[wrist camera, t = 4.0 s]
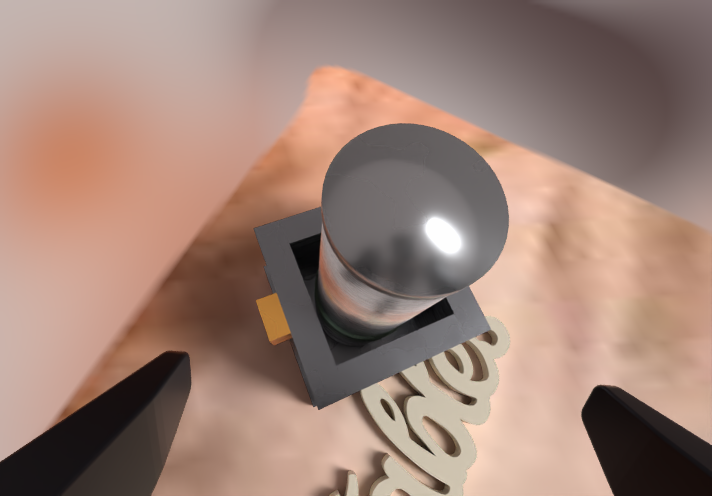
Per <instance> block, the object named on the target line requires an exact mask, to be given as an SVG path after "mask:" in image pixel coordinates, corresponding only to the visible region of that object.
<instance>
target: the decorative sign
mask: <svg viewBox="0 0 712 496" xmlns="http://www.w3.org/2000/svg"><path fill="white" fill-rule="evenodd" d="M485 318H486V320H487V322H488V324H489V326H490V328H491V330H489V331H487V332H488V333H489V334H490V335H491V338H492V343H491V345H490V344H488V343H487V342H485V341H479V340H478V339H477V338H476V337H474V338H472V339H470V340H468V341H466V342H465V343H466V344H468V345H469V346H470V347H471V348H472V349H473V350H474V352H475V353H476V355H477V357H478V359H479V361H480V364H481V366H482V370H483V378H482V379H481V380H480V381H471V380H470V379H471V377H472V374H473V365H472V362H471V359H470V357H469V355H468V353H467V352H466V350H465V348H464V347H463V346H462V344H459V345H457V346H455V347H453V348H450V349H448V350H447V351H448V352H450V353H451V354H452V355H453V356H454V358H455V359H456V361H457V364H458V367H459V372H458V371H457V370H456V369H455V368H454V367H453V366H452V365H451V364H450V363H449V362H448V360H447V359H446V357H445V354H444V352H442V353H440V354H438V355H435V356H433V357H431V358H429V359H428V360H429V362H430V365H431V367H432V368H433V370H434V372H435V373H436V375H437V376H438V377H439V378H440V379H441V381H442V382H443V383H445V384H446V385H447V386H448V387H449V388H451V389H452V390H454V391H456V392H458V393H460V394H462V395H465V396H468V397H471V398H472V400H471V403H470V404H468V405H466V404H463V403H461V402H459V401H457V400H455V399H454V398H452V397H450V396H449V395H447V394H446V393H445V392H443V391H442V390H440V389H439V388H438V387H436V386H435V385H434V384H432V383H431V382H430V379H429V375H428V372H427V369H426V366H425V364H424V362H420V363H418V364H416V365H414V366H412V367H410V368H408V369H405V370H403V371H401V372H399V373H400V374H401V376H402V377H403V378H404V379H405V380H406V381H407V382H408V383H409V385H410V386H411V387H412V388H414V389H415V390H416V391H417V392H418V393H419V394H420V395H421V396H408V397H407V398H406V399H405V401H404V405H403V410H404V416H405V419H406V421H407V423H408V425H409V427H410V428H411V429H412V431H413V432H414V433H415V434H416V436H417V437H418V438H419V439H420V440H421V441H422V443H423V444H424V445H425V446H426V447H427V449H428V450H429V451H430V452H431V453H430V452H428V451H426V450H425V449H423V448H422V447H420V446H419V445H418V444H416V443H415V442H414V441H412V440H411V439H410V438H409V433H408V429H407V425H406V422H405V420H404V417H403V415H402V413H401V411H400V409H399V408H398V406H397V405H396V403H395V402H394V400H393V399H392V398H391V396H390V395H389V394H388V393H387V392H386V391H385V390H384V389H383V388H382V387H381V386H380V385H379V384H378V383H375V384H373V385H371V386H369V387H367V388H365V389H363V390H360V395H361V398H362V400H363V402H364V404H365V406H366V408H367V410H368V412H369V413H370V415H371V417H372V418H373V420H374V421H375V423H376V424H377V425H378V427H379V428H380V429H381V431H382V432H383V433H384V434H385V435H386V436H387V438H388V439H389V440H390V441H391V442H392V443H393V444H394V445H395V446H396V447H397V448H398V449H399V450H400V451H401V452H402V453H403V454H405V455H406V456H407V457H408V458H409V459H410V460H412V461H413V462H414V463H415V464H417V465H418V466H419V467H420V468H422V469H423V470H424V471H426V472H427V473H429V474H430V475H432V476H433V477H435V478H436V479H438V480H440V481H441V482H443V483H445V487H444V489H443V490H441V491H439V490H436V489H433V488H431V487H429V486H427V485H425V484H423V483H422V482H420V481H419V480H417V479H416V478H414V477H413V476H412V475H411V474H410V473H408V472H407V471H406V470H405V469H404V468H403V467H402V466H401V465H400V464H399V463H398V462H396V461H395V460H394V459H393V458H392V457H391V456H390V455H389V454H388V453H387V454H386V455H385V456H384V457H383V459H382V462H381V465H382V468H383V470H384V472H385V473H386V474H387V475H384V476H382V477H380V478H378V479H377V480H376V481H375V482H374V483H373V485H372V486H371V489H370V492H369V496H390V495H391V493H392V492H393V491H394V490H395V489H402V490H404V491H405V492H407V493H408V494H409V495H410V496H463V484H464V483H465V481H466V478H467V472H466V470H467V469H468V468H470V467H471V466H472V465H473V463H474V462H475V460H476V457H477V450H476V446H475V443H474V441H473V439H472V437H471V435H470V434H469V432H468V430H467V429H466V427H465V426H464V424H463V423H462V422H461V421H463V422H466V423H470V424H473V425H481V424H483V423H485V422H486V421H487V419H488V417H489V414H490V401H489V400H490V396H491V395H493V393H494V392H495V391H496V389H497V386H498V383H499V372H498V368H497V365H496V363H495V361H494V359H496V358H500V357H502V356H503V355H505V353H506V352H507V351H508V348H509V345H510V336H509V333H508V330H507V329H506V327H505V326H504V324H503V323H502V322H501V321H499V320H498V319H497V318H495V317H491V316H486V317H485ZM381 398H382V399H383V400H384V401H386V403H387V404H388V406H389V407H390V410H391V413H392V419H391V418H390V417H389V416H388V414H387V413H386V412H385V410H384V409H383V407H382V405H381V402H380V400H381ZM423 416H426V417H428V418H430V419H431V420H433V421H434V422H435V423H437V424H438V425H439V426H441V427H442V428H443V429H444V430H445V431H446V432H447V433H448V434H449V435H450V436H451V438H452V439H453V441H454V443H455V447H456V451H455V452H454V453H453V454H450V455H449V454H446V453H445V452H444V451H443V450H442V449H441V448H440V447H439V446H438V444H437V443H436V442H435V441H434V440H433V438H432V437H431V436H430V435H429V433H428V432H427V431H426V429H425V428H424V425H423V422H422V419H423ZM329 496H340V494H339V492H338V490H336V491H334V492H332V493H331V494H330V495H329ZM344 496H358V482H357V476H356V474H355V472H354V471H348V473H347V485H346V491H345V495H344Z"/></svg>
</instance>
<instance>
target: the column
mask: <svg viewBox="0 0 712 496" xmlns="http://www.w3.org/2000/svg"><path fill="white" fill-rule="evenodd" d="M321 215H322V231H321V243H320V256H319V269H318V271H317V275H316V279H315V291H314V296H315V304H316V314H317V317H318V320H319V322H320V325H321V327H322V328H323V330H324V331H325V332H326V333H327V334H328V335H329V336H330V337H331V338H332V339H334V340H335V341H337V342H339V343H342V344H345V345H349V346H361V345H366V344H369V343H371V342H373V341H377V340H380V339H382V338H384V337H386V336H388V335H389V334H391V333H393V332H394V331H396V330H397V329H399V328H400V327H401V326H402V325H403V324H404V323H405V322H406V321H408V320H409V319H411V318H413V317H414V316H416V315H417V314H419V313H421V312H422V311H424V310H426V309H427V308H429V307H430V306H432V305H434V304H435V303H437V302H439V301H440V300H442V299H443V298H445V297H447V296H449V295H452V294H454V293H456V292H458V291H460V290H462V289H464V288H466V287H468V286H469V285H471V284H473V283H474V282H475V281H477V280H478V279H480V278H481V277H482V276H484V275H485V274H486V273H487V272H488V271H489V270H490V269H491V268H492V266H493V265H494V263H495V262H496V261H497V259H498V258H499V256H500V254H501V252H502V250H503V248H504V245H505V242H506V239H507V233H508V226H509V214H508V206H507V201H506V197H505V194H504V191H503V189H502V186H501V184H500V182H499V180H498V178H497V176H496V175H495V173H494V172H493V170H492V169H491V167H490V166H489V165H488V163H487V162H486V161H485V160H484V159H483V158H482V157H481V156H480V155H479V154H478V153H477V152H476V151H475V150H474V149H473V148H471V147H470V146H469V145H467V144H466V143H465V142H463V141H461V140H460V139H458V138H456V137H455V136H453V135H451V134H449V133H446V132H444V131H441V130H439V129H436V128H433V127H428V126H424V125H418V124H402V123H400V124H389V125H385V126H380V127H377V128H374V129H371V130H368V131H366V132H364V133H362V134H360V135H358V136H357V137H355V138H354V139H352V140H351V141H350V142H348V143H347V144H346V145H345V146H344V147H343V148H342V149H341V150H340V151H339V152H338V154H337V155H336V156H335V158H334V159H333V161H332V163H331V164H330V166H329V168H328V171H327V173H326V176H325V180H324V184H323V190H322V202H321Z"/></svg>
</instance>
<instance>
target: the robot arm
mask: <svg viewBox="0 0 712 496" xmlns="http://www.w3.org/2000/svg"><path fill="white" fill-rule="evenodd" d="M190 389H191V369H190V357H189V354H188V353H187V352H182V351H166V352H164V353H162V354H161V355H159V356H158V357H156V358H155V359H153V360H152V361H150V362H149V363H147V364H146V365H144V366H143V367H141V368H140V369H138V370H137V371H135V372H134V373H132V374H131V375H129V376H128V377H126V378H125V379H123V380H122V381H120V382H119V383H117V384H116V385H114V386H113V387H111V388H110V389H108V390H107V391H106V392H104V393H103V394H101V395H100V396H98V397H97V398H95V399H94V400H92V401H91V402H89V403H88V404H86V405H85V406H83V407H82V408H80V409H79V410H77V411H76V412H74V413H73V414H71V415H70V416H68V417H67V418H65V419H64V420H62V421H61V422H59V423H58V424H56V425H55V426H53V427H52V428H50V429H49V430H47V431H46V432H44V433H43V434H41V435H40V436H38V437H37V438H35V439H34V440H32V441H31V442H29V443H28V444H26V445H25V446H23V447H22V448H20V449H19V450H17V451H16V452H14V453H13V454H11V455H10V456H8V457H7V458H5V459H4V460H2V461H1V462H0V496H151V494H152V492H153V490H154V488H155V486H156V484H157V481H158V479H159V477H160V475H161V472H162V470H163V467H164V465H165V462H166V459H167V457H168V454H169V451H170V448H171V445H172V442H173V439H174V436H175V434H176V431H177V428H178V425H179V422H180V419H181V416H182V414H183V411H184V408H185V405H186V402H187V399H188V396H189V393H190ZM581 417H582V421H583V424H584V426H585V428H586V431H587V433H588V436H589V438H590V440H591V443H592V445H593V448H594V450H595V452H596V455H597V457H598V460H599V462H600V464H601V467H602V469H603V472H604V474H605V476H606V479H607V481H608V483H609V486H610V488H611V490H612V492H613V494H614V496H712V445H710V444H709V443H707V442H706V441H704V440H702V439H701V438H699V437H698V436H696V435H694V434H693V433H691V432H690V431H688V430H686V429H685V428H683V427H682V426H680V425H678V424H677V423H675V422H674V421H672V420H670V419H669V418H667V417H666V416H664V415H662V414H661V413H659V412H658V411H656V410H654V409H653V408H651V407H650V406H648V405H646V404H645V403H643V402H642V401H640V400H638V399H637V398H635V397H634V396H632V395H630V394H629V393H627V392H626V391H624V390H622V389H621V388H619V387H616V386H610V385H597V386H596V387H595V388H594V389H593V391H592V392H591V394H590V396H589V398H588V399H587V401H586V403H585V405H584V407H583V409H582V412H581Z"/></svg>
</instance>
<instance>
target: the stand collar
mask: <svg viewBox="0 0 712 496" xmlns="http://www.w3.org/2000/svg"><path fill="white" fill-rule="evenodd" d="M253 229H254V231H255V234H256V237H257V240H258V242H259V245H260V248H261V251H262V254H263V256H264V259H265V262H266V265H267V266H264V269H265V272H266V275H267V278H268V281H269V283H270V286H271V289H272V292H273V294H272V295H269V296H266V297H263V298H261V299H258V300H256V303H257V306H258V309H259V312H260V315H261V318H262V321H263V324H264V327H265V329H266V332H267V335H268V338H269V341H270V342H271V343H272V344H273V345H276V344H279V343H281V342H284V341H286V340H288V339H289V340H290V342H291V345H292V348H293V351H294V354H295V356H296V359H297V362H298V365H299V368H300V371H301V373H302V376H303V379H304V382H305V385H306V387H307V390H308V393H309V396H310V399H311V402H312V404H313V407H315V406H317V407H318V410H320V409H322V408H324V407H326V406H328V405H330V404H332V403H335V402H337V401H339V400H341V399H343V398H345V397H348V396H350V395H352V394H354V393H356V392H358V391H360V390H363V389H365V388H367V387H369V386H371V385H373V384H375V383H378V382H380V381H382V380H384V379H386V378H388V377H390V376H393V375H395V374H397V373H399V372H401V371H403V370H405V369H408V368H410V367H412V366H414V365H416V364H418V363H420V362H423V361H425V360H427V359H429V358H431V357H433V356H435V355H438V354H440V353H442V352H444V351H446V350H448V349H450V348H453V347H455V346H457V345H459V344H461V343H463V342H466V341H468V340H470V339H472V338H474V337H476V336H478V335H481V334H483V333H485V332H487V331H489V330H491V328H490V326H489V324H488V322H487V320H486V318H485V316H484V314H483V312H482V311H481V309H480V307H479V305H478V303H477V301H476V299H475V297H474V295H473V293H472V291H471V290H470V288H469V286H468V287H466V288H464V289H462V290H460V291H458V292H456V293H454V294H452V295H449V296H447V297H445V298H443V299H442V300H440V301H439V302H437V303H435V304H434V305H432V306H430V307H429V308H427V309H426V310H424V311H422V312H421V313H419V314H417V315H416V316H414V317H413V318H411V319H409V320H408V321H406V322H405V323H404V324H403V325H402V326H401V327H400V328H399V329H397V330H396V331H394V332H393V333H391V334H389V335H388V336H386V337H384V338H382V339H380V340H377V341H373V342H371V343H369V344H366V345H361V346H349V345H345V344H342V343H339V342H337V341H335V340H334V339H332V338H331V337H330V336H329V335H328V334H327V333H326V332H325V331H324V330H323V328H322V327H321V325H320V322H319V320H318V317H317V314H316V304H315V296H314V291H315V279H316V275H317V271H318V269H319V256H320V243H321V231H322V215H321V207H319V208H316V209H312V210H309V211H306V212H303V213H300V214H297V215H294V216H291V217H288V218H284V219H281V220H278V221H275V222H272V223H269V224H266V225H263V226H259V227H256V228H253Z"/></svg>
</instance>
